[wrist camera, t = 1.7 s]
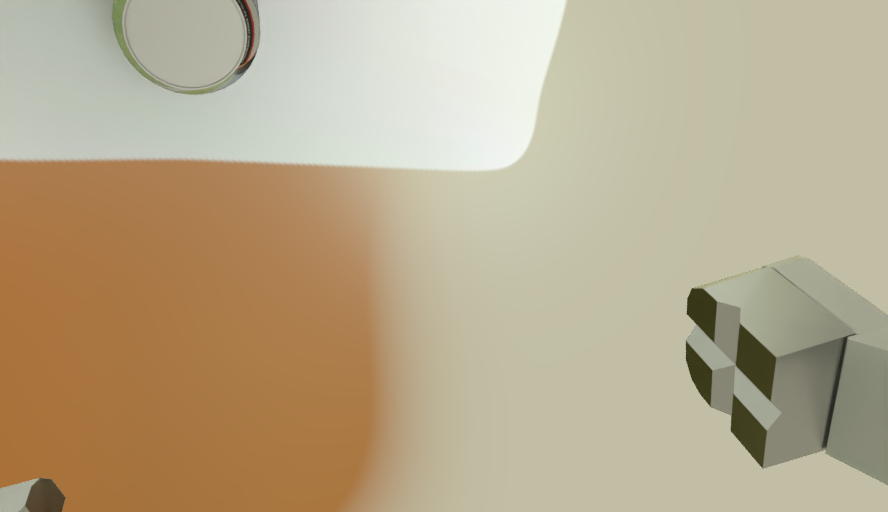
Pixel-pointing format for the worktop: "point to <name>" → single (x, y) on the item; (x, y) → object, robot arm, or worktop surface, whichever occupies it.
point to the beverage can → (188, 41)
